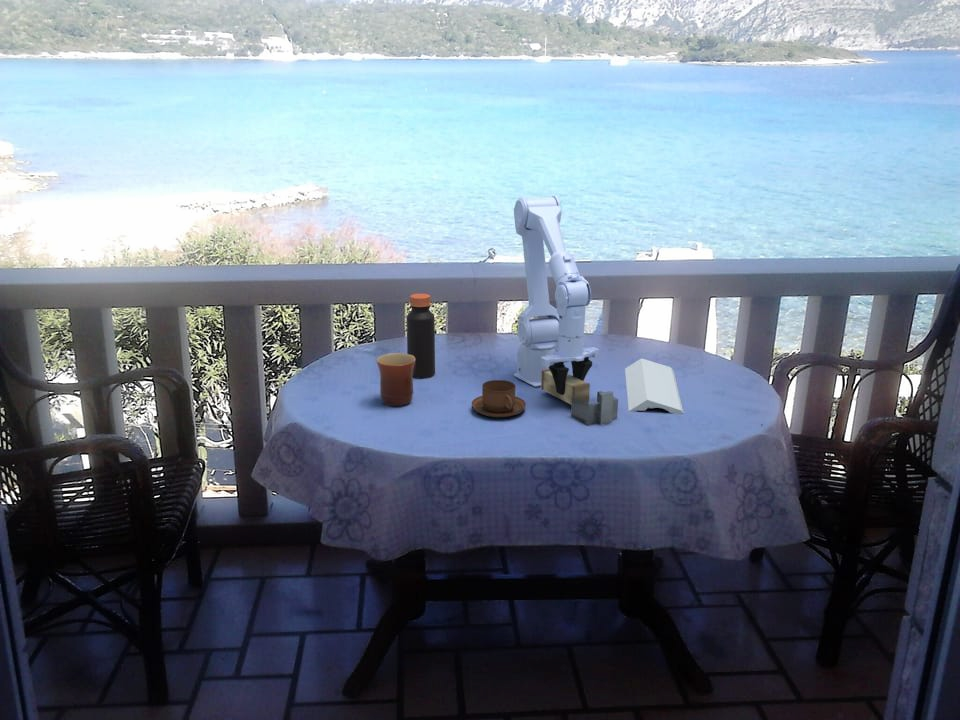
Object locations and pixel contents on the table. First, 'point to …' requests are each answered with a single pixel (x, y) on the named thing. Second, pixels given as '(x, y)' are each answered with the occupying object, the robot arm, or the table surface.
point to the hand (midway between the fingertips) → (568, 391)
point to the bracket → (595, 409)
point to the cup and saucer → (498, 399)
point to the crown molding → (652, 387)
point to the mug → (396, 378)
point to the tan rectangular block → (566, 387)
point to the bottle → (421, 335)
